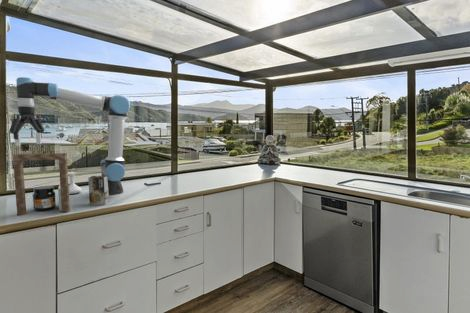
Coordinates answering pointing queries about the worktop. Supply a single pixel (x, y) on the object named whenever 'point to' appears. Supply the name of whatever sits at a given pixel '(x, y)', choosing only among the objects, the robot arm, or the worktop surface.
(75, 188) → the flower in vase
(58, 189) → the door
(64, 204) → the door frame
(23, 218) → the worktop surface
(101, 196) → the coffee box
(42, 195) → the supplement container
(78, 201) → the worktop surface
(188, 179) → the worktop surface
